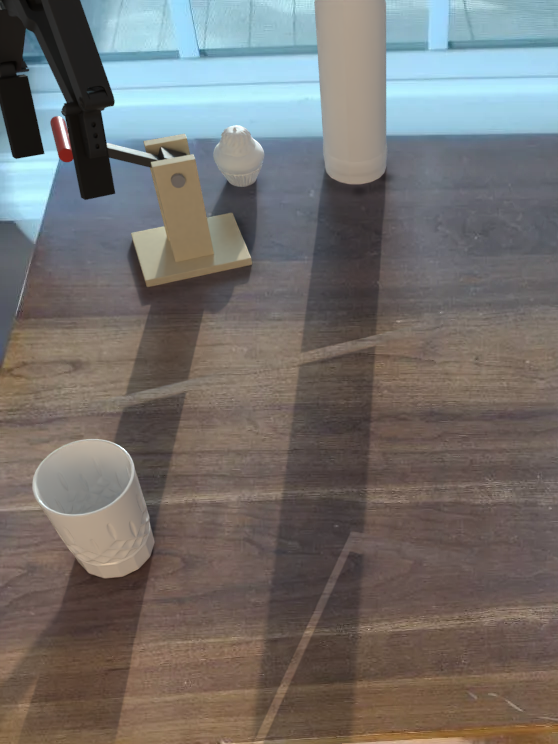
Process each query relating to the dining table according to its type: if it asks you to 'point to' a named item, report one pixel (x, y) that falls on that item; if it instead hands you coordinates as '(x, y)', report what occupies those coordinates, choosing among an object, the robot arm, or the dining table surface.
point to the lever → (113, 150)
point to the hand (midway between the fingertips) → (61, 175)
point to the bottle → (352, 87)
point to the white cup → (96, 506)
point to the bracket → (185, 224)
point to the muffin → (238, 156)
